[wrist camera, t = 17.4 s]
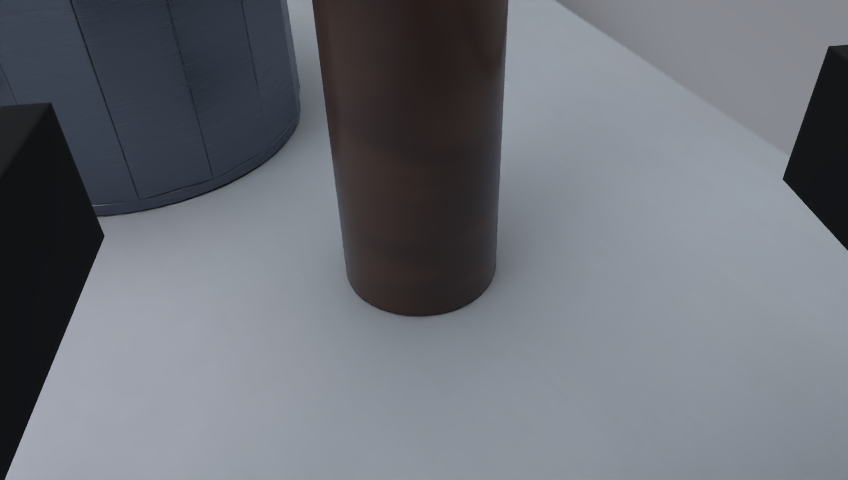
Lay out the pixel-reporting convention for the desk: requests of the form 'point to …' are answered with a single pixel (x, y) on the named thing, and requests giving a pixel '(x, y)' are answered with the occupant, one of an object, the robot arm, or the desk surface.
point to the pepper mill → (415, 144)
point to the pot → (155, 89)
